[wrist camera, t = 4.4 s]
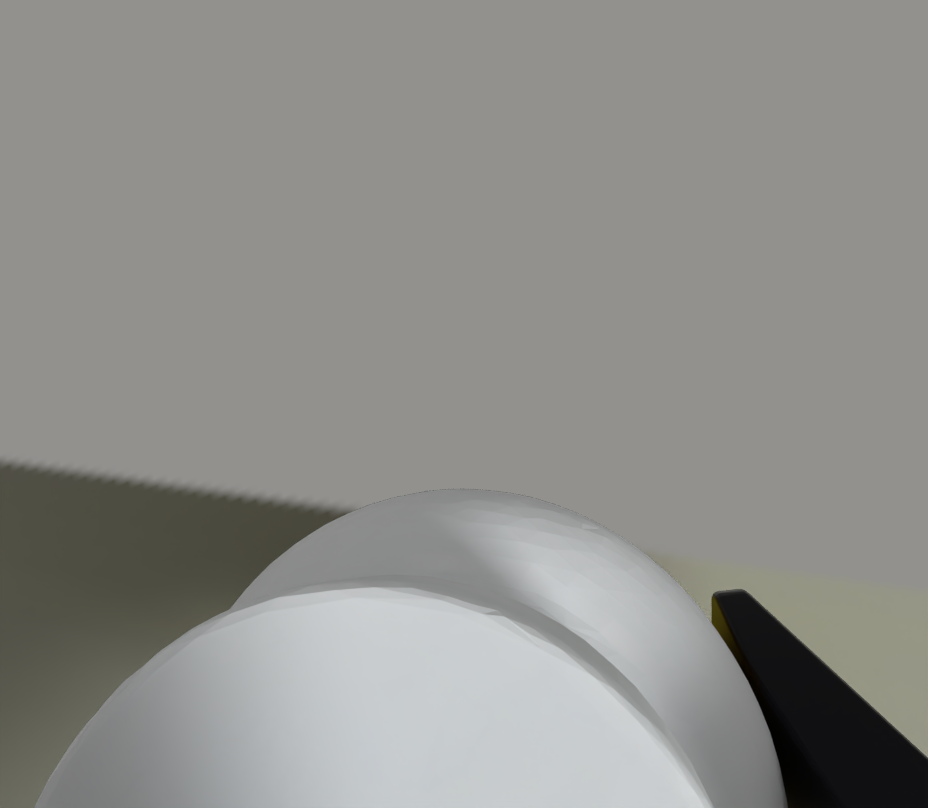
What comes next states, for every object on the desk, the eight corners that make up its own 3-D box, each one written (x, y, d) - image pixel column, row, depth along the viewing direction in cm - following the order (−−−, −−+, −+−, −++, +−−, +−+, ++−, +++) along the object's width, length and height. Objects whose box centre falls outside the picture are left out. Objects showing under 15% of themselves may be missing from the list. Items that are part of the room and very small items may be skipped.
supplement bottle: (591, 483, 17) (646, 258, 4) (719, 757, 15) (1426, 1678, 3) (348, 590, 17) (-236, 657, 5) (446, 870, 15) (-84, 2164, 3)
